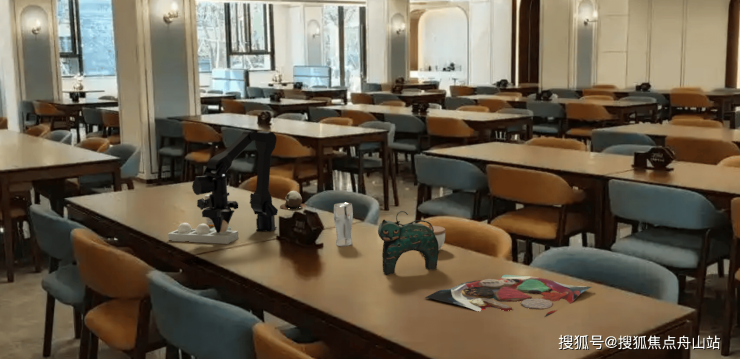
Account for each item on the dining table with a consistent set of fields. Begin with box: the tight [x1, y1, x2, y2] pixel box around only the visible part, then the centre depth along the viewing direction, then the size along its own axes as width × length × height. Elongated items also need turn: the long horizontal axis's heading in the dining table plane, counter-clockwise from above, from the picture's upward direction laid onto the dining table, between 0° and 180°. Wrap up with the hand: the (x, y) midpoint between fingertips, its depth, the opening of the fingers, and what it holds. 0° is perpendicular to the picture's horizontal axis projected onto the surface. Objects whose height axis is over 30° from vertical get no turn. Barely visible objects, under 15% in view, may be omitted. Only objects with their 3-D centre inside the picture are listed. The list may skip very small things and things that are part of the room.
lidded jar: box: [426, 224, 446, 251], centre depth 287 cm, size 11×11×9 cm
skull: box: [279, 190, 307, 210], centre depth 372 cm, size 12×10×10 cm
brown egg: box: [213, 220, 229, 233], centre depth 310 cm, size 5×5×5 cm
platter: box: [424, 274, 592, 318], centre depth 234 cm, size 35×35×2 cm
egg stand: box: [210, 226, 232, 231], centre depth 323 cm, size 6×6×2 cm
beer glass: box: [333, 202, 354, 247], centre depth 298 cm, size 7×7×15 cm
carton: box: [167, 222, 239, 245], centre depth 313 cm, size 25×9×6 cm, turn 73°
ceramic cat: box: [377, 210, 440, 276], centre depth 261 cm, size 20×6×20 cm, turn 105°
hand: (221, 231), depth 310 cm, fingers closed on brown egg, 5 cm apart
